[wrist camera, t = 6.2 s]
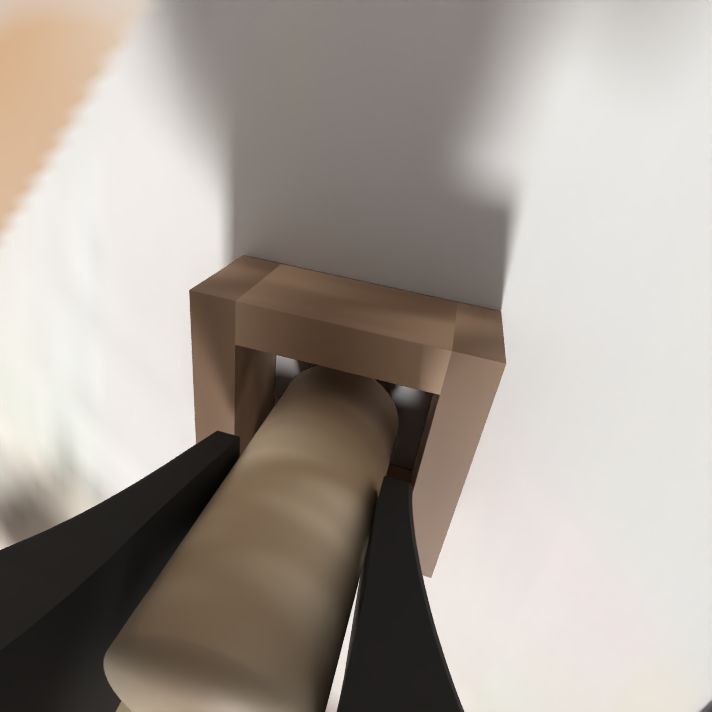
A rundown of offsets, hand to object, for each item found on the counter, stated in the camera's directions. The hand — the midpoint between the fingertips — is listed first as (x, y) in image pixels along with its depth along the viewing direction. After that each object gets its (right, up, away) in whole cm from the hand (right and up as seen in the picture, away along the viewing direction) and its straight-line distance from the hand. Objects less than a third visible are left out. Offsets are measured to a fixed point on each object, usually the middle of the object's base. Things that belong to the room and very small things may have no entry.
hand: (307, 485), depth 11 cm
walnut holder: (+1, +2, +4) cm, 4 cm away
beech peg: (+1, +1, +3) cm, 3 cm away
